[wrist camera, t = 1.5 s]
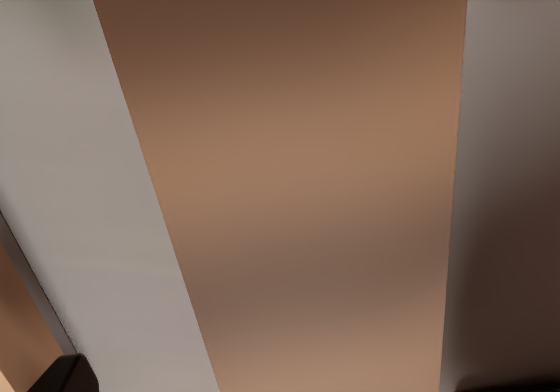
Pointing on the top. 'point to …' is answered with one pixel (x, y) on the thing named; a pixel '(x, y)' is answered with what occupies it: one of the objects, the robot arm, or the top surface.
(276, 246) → the brown wooden block
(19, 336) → the wooden tray
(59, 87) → the top surface
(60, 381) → the robot arm
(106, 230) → the top surface
